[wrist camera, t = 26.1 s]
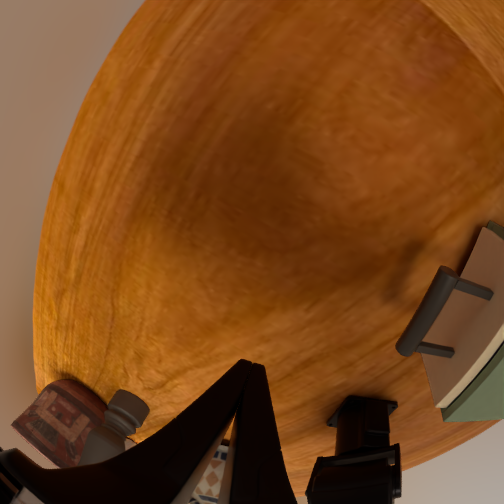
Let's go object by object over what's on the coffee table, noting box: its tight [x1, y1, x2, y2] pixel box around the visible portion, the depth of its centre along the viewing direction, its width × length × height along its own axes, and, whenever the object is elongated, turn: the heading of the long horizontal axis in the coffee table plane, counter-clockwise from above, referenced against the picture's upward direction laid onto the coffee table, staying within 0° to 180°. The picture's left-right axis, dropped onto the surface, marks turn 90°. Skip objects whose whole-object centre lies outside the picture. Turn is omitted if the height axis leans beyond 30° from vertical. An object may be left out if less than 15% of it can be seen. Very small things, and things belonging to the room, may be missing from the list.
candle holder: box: [77, 390, 149, 466], centre depth 26 cm, size 6×6×25 cm
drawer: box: [395, 227, 504, 408], centre depth 14 cm, size 18×11×7 cm, turn 79°
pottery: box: [11, 380, 109, 468], centre depth 35 cm, size 18×18×18 cm
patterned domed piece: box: [186, 445, 229, 504], centre depth 31 cm, size 18×18×20 cm
